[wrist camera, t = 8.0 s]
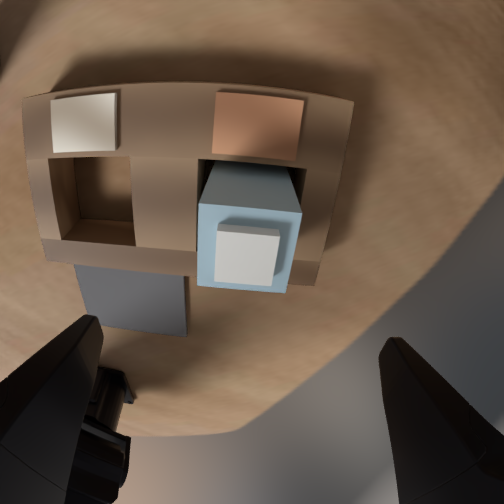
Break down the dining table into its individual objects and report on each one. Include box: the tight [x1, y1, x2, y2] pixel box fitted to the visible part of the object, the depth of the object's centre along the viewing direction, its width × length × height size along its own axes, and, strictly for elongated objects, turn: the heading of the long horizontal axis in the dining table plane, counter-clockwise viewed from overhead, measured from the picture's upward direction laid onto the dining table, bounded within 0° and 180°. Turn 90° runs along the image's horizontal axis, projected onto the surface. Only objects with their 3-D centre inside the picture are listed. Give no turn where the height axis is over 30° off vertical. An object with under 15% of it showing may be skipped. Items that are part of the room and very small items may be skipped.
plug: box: [197, 160, 302, 293], centre depth 16 cm, size 4×4×8 cm
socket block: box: [22, 81, 354, 286], centre depth 17 cm, size 11×18×3 cm, turn 84°
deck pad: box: [74, 264, 187, 337], centre depth 23 cm, size 9×9×1 cm
